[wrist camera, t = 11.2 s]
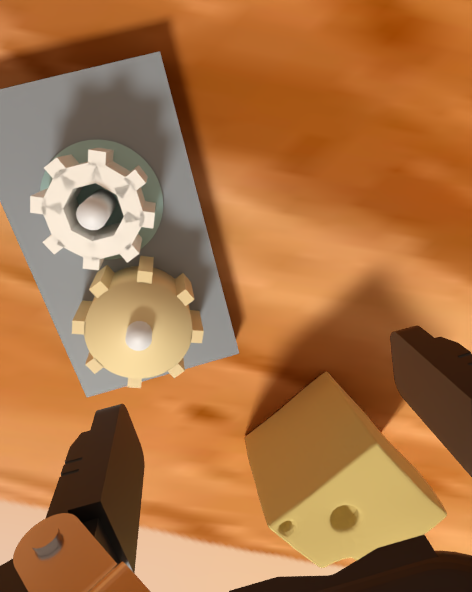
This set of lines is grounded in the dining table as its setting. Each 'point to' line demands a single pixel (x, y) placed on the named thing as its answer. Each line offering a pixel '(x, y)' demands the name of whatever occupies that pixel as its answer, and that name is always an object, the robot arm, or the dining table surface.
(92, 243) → the nylon gear
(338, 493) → the cheese
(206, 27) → the dining table surface
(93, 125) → the gear board
